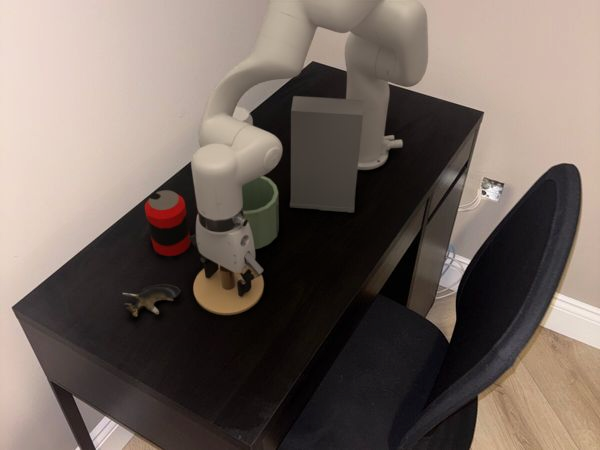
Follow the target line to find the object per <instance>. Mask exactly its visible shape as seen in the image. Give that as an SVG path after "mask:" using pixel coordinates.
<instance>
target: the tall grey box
mask: <svg viewBox="0 0 600 450" xmlns="http://www.w3.org/2000/svg"><path fill="white" fill-rule="evenodd" d="M362 120H363V100H353V99H346V98H337V97H336V98H335V97H334V98H333V97H320V96H319V97H317V96H302V95H301V96H300V95H293V97H292V103H291V110H290V202H289V208H296V209H309V210H310V209H311V210H319V211H326V212H327V211H328V212H340V213H343V212H344V213H355V205H356V189H357V188H356V187H357V178H358V171H359V170H358V160H359V150H360V140H361V130H362Z"/></svg>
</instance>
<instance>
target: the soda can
mask: <svg viewBox="0 0 600 450" xmlns="http://www.w3.org/2000/svg"><path fill="white" fill-rule="evenodd" d="M144 212H145V217H146V222H147V226H148V230H149V234H150V240H151V242H152V246H153V247H152V248H153V249H154V251H155V252H156V253H157V254H159V255H161V256H164V257H165V256H166V257H173V256H177V255H180V254H182V253H184V252H186V250H188V249H189V247H190V246H191V244H192V242H191V241H190V239H189V237H190V236H191V234H190V226H189V222H188V215H187V208H186V202H185V199H184V198H183V197H182V196H181V195H180V194H178V193H176V192H175V191H173V190H168V189H167V190H166V189H165V190H159V191H156V192H154V193H153V194H151V195H150V197H149V198H148V199H147V201H146V202H145V204H144Z"/></svg>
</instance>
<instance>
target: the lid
mask: <svg viewBox="0 0 600 450" xmlns="http://www.w3.org/2000/svg"><path fill="white" fill-rule="evenodd" d="M218 267H219V269H218V271H217V272H216V273H215V274H214V275H213V276H211V277H210V278H206V277H205V271H204V268H202V269H201V270H200V271H199V272H198V273H197V275H196V277H195V279H194V282H193V287H192V288H193V289H192V290H193V295H194V298H195V300H196V302H197V304H199V306H200V307H201V308H202V309H204V310H205V311H207V312H209V313H212V314H215V315H221V316H232V315H238V314H241V313H243V312H246V311H248V310H250V309H251V308H252V307H254V306H255V305H256V304H257V303H258V302H259V301H260V299H261V297H263V294H264V290H265V282H264V281H265V280H264V277H263V275H262V274H261V275H260V276H259V277H257V278H254V279H253V280H251V286H252V287H251V289H250V291H249V292H247V293H245V294H244V295H243V296H242V297H240V296H239V295H238V287H237V282H238V280H239V279H238V277H237V275H236V273H235V272H233V271H230V270H229V269H227V268H225V267H223V266H221V265H219V264H218ZM245 272H246V270H245V268H244V269H243V270H242V273H243V274H244V273H245Z"/></svg>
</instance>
